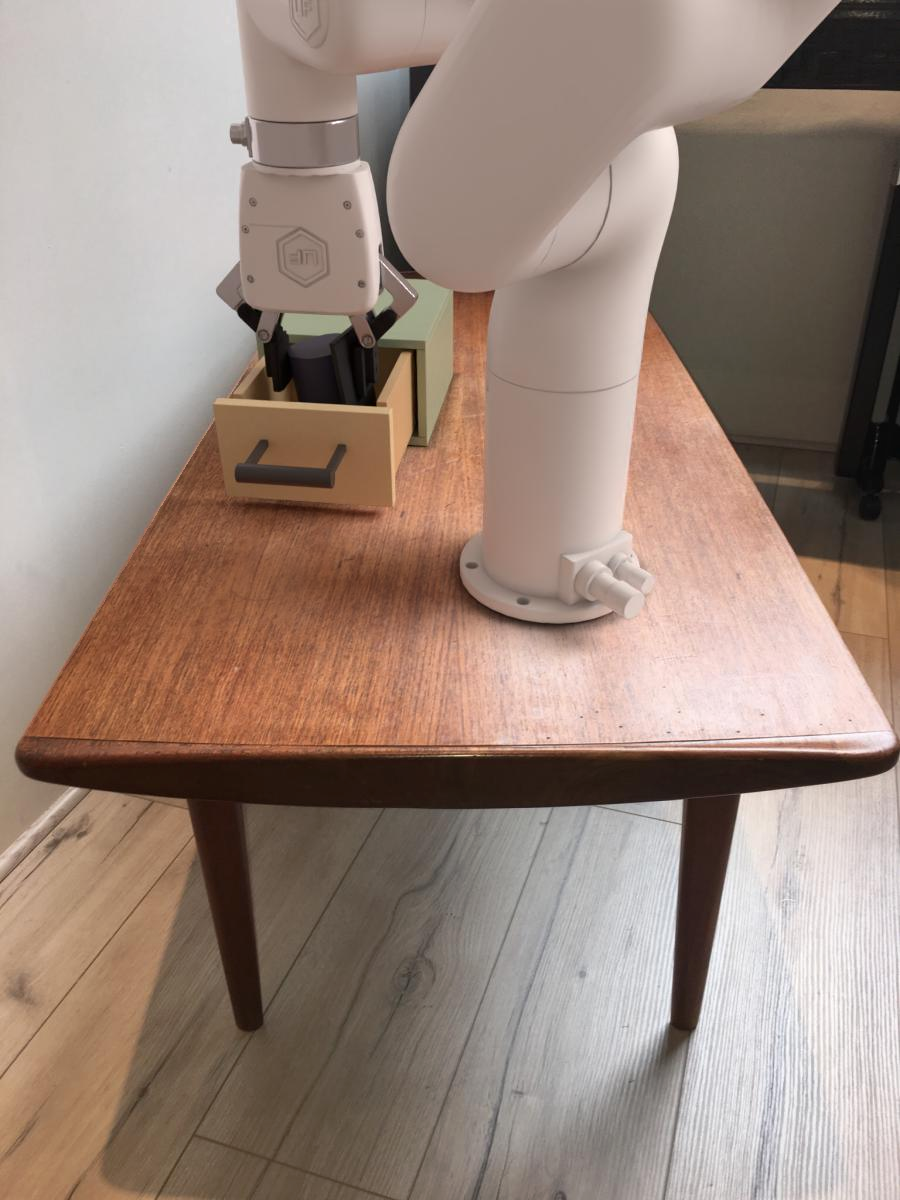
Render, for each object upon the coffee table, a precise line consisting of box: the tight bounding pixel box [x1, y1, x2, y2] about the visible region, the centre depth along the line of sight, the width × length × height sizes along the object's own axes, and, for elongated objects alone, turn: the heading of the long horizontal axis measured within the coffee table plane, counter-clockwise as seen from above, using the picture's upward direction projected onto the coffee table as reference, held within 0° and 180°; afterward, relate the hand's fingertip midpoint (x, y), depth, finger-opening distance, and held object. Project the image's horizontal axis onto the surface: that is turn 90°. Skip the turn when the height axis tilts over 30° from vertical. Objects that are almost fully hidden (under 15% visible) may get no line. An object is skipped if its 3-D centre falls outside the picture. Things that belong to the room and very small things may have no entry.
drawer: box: [212, 343, 417, 508], centre depth 79 cm, size 21×13×8 cm, turn 172°
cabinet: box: [255, 278, 454, 447], centre depth 92 cm, size 17×15×10 cm
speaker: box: [287, 325, 377, 407], centre depth 80 cm, size 8×6×10 cm
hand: (323, 386), depth 79 cm, fingers closed on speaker, 6 cm apart
